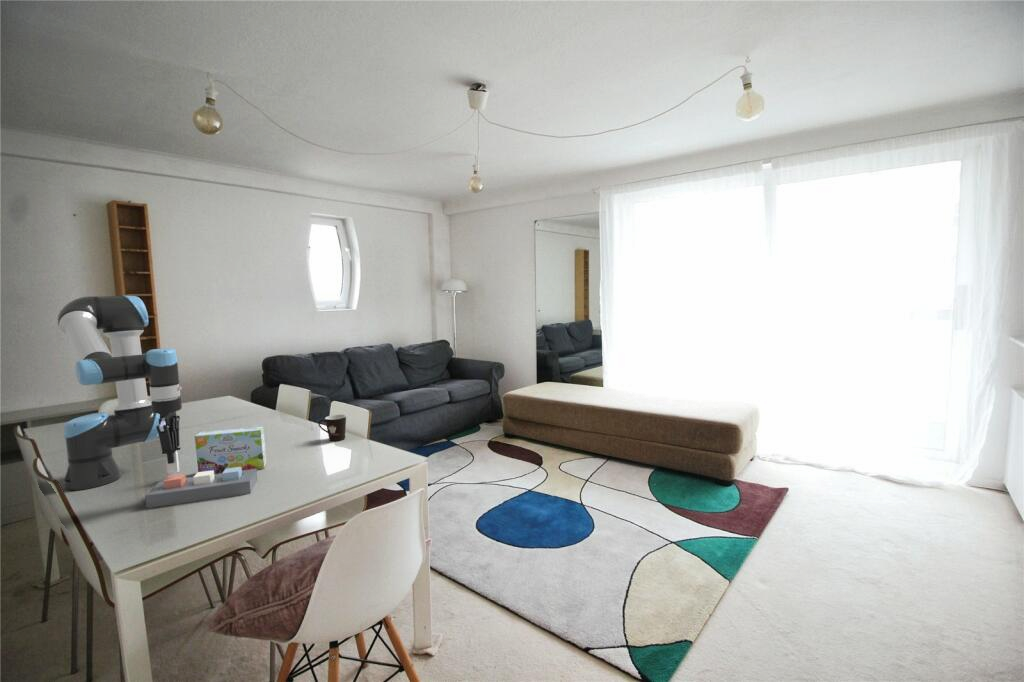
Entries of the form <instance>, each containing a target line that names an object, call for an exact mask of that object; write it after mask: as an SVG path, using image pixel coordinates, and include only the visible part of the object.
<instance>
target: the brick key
mask: <svg viewBox="0 0 1024 682" xmlns="http://www.w3.org/2000/svg"><path fill="white" fill-rule="evenodd" d="M186 478H187V476H186V473H182V474H174V475H168V476H167V477H166V478H165V479H164V480H162V481H163V483H164V489H171V488H178V487H183V486H184V485H185V484H186Z"/></svg>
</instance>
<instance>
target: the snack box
mask: <svg viewBox="0 0 1024 682" xmlns="http://www.w3.org/2000/svg"><path fill="white" fill-rule="evenodd" d="M265 440H266V439H265V430H264V426H253V427H251V426H250V427H240V428H231V429H220V430H219V429H218V430H209V431H208V430H207V431H199V432H198V433H197V434H195V435H194V443H195V452H196V461H197V462H196V463H197V472H204V471H211V470H214V474H219V473H223V472H224V470H225V469H227V468H235V467H241V468H242V470H250V469H257V471H260V469H261V470H264V469H265V468H266V466H267V465H268V464H267V452H266V443H265Z"/></svg>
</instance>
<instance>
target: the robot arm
mask: <svg viewBox="0 0 1024 682" xmlns="http://www.w3.org/2000/svg"><path fill="white" fill-rule="evenodd" d="M57 324H58V328H59V329H60V331H61V332H63V334H65V335H67V337H68V339H69V340H70V343H71V345H72V347H73V349H74V351H75V353H76V355H77V357H78V361H77V362H75V373H76V374H75V376H76V379H77V382H78V384H80V385H81V386H89V385H100V384H107V383H115V387H116V395H117V402H118V404H117V406H115V408H114V409H113V411H114V414H112V415H109V414H108V413H107V412H104V411H103V412H102V411H100V412H95V413H89V414H85V415H82V416H79V417H76V418H73V419H71V420H69V421H67V422H66V423H65V425H64V428H63V430H64V431H63V432H64V434H63V435H64V436H63V438H64V439H65V446H66V447H65V448H66V456H67V464H68V466H67V469H66V471H65V472H66V473H65V476H64V479H63V487H64V489H65V490H66V491H80V490H86V489H87V490H88V489H93V488H97V487H101V486H104V485H107V484H110V483H113V482H115V481H117V480H119V479H120V478H121V477H122V472H121V471H122V470H121V469H120V467H119V465H118V463H117V462H116V460H115V458H114V457H113V451H112V449H114V448H119V447H125V446H128V445H134V444H138V443H139V444H140V443H145V442H148V441H151V440H155V439H157V438H158V437H159V443H160V448H161V454H162V455H165V459H166V460H165V461H166V470H167V474H174V473H179V472H180V464H179V454H178V451H180V450H181V446H180V419H181V418H180V415H177V412H178V411H180V410H182V408H183V407H182V405H183V404H182V399H181V397H180V396H181V391H182V390H183V387H182V386H180V378H179V377H180V376H179V366H178V365H179V364H178V361H179V359H178V356H177V351H176V349H175V348H165V347H164V348H155V349H154V348H153V349H150V350H148V351H147V352H144V353H142V347H141V346H142V345H141V339H140V337H141V335H142V334H143V332H144V330H145V329H144V328H146V327H147V326H148V325H149V313H148V311H147V308H146V305H145V303H144V301H143V300H142V299H141V298H140V297H138V296H136V295H106V296H105V295H102V296H101V295H99V296H81V297H79V298H75V299H73V300H71V301H70V302H68V303H66V304H65V305H64V306H63V307H62V309H61V310H60V311H59V313H58V316H57ZM99 330H102V334H103V336H104V337H107V338H108V339H109V343H110V349H109V348H108V346H107V344H106V342H105V341H104V339H103V337H102V335H101V333H100V331H99ZM110 350H111V351H110ZM146 379H148V381H149V395H150V400H152V401H150V400H149V396H148V389H147V383H146V382H147V381H146Z"/></svg>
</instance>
